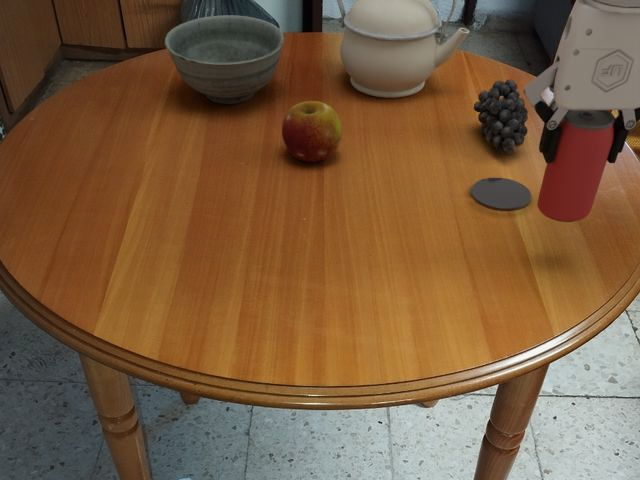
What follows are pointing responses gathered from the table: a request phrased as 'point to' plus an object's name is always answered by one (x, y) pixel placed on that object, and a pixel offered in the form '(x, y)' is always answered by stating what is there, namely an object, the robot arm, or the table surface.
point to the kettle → (394, 45)
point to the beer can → (576, 165)
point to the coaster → (501, 194)
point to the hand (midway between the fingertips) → (577, 156)
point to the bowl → (226, 55)
